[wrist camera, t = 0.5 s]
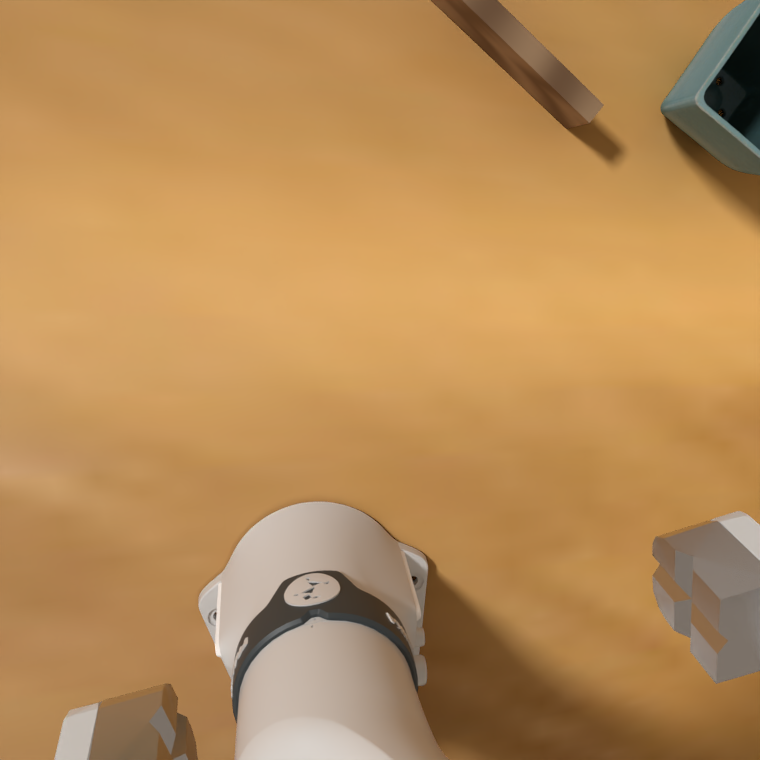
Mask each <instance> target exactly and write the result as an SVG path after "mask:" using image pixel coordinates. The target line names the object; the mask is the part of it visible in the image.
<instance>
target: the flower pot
mask: <svg viewBox="0 0 760 760" xmlns="http://www.w3.org/2000/svg"><path fill="white" fill-rule="evenodd" d="M717 78H721V80H722V82H721V84H720V85H717V84H716V79H717ZM720 109H721V110H723V112H724V114H723V116H722V117H721V116H720V115H718V111H719V110H720ZM661 112H662V114H663V115H664V116H665V117H667V118H668V119H669V120H670V121H672V122H673V123H674V124H675V125H676V126H678V127H679V128H680V129H681V130H682V131H684V132H685V133H686V134H687V135H689V136H690V137H691V138H692V139H693V140H695V141H696V142H697V143H698V144H699V145H701V146H702V147H703V148H704V149H705V150H707V151H708V152H709V153H710V154H711V155H712V156H714V157H715V158H716V159H717V160H718V161H720V162H721V163H723V164H724V165H726V166H728V167H729V168H731V169H733V170H736V171H739V172H743V173H749V174H755V175H760V0H745V1H744V2H742V3H741V4H739V5H738V6H737V7H735V8H734V9H733V10H731V11H730V12H729V13H728V14H727V15H726V16H725V17H724V18H723V19H722V20H721V21H720V22H719V23H718V24H717V26H716V27H715V28H714V29H713V31H712V32H711V33H710V35H709V36H708V37H707V39H706V40H705V42H704V43H703V45H702V46H701V48H700V49H699V51H698V52H697V54H696V55H695V57H694V58H693V60H692V61H691V63H690V64H689V65H688V67H687V68H686V70H685V71H684V73H683V74H682V76H681V77H680V78H679V80H678V81H677V83H676V84H675V86H674V87H673V89H672V90H671V91H670V93H669V94H668V96H667V97H666V98H665V100H664V101H663V103H662V105H661Z"/></svg>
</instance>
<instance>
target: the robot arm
mask: <svg viewBox="0 0 760 760" xmlns="http://www.w3.org/2000/svg"><path fill="white" fill-rule="evenodd" d="M653 556H654V558H655V559H656V560H657V561H658V562H659V563H660V565H659V566H658V568H657V569H656V571H655V573H654V574H653V591H654V594H655V597H656V600H657V603H658V607H659V608H660V610H661V612H662V614H663V616H664V617H665V619H666V620H667V622H668V623H669V624H670V626H671V627H672V628H673V630H674V631H676V632H679V633H681V634H683V635H685V636H687V637H690V638H691V645H690V652H691V653H692V654H693V655H694V657H695V658H696V659H697V660H698V662H699V663H700V664H701V665H702V667H703V668H704V669H705V670H706V672H707V673H708V674H709V675H710V677H711V678H712V679H713V681H714V682H715V683H716V684H717V683H720V682H723V681H727V680H730V679H734V678H737V677H740V676H744V675H747V674H751V673H754V672H758V671H760V525H759V524H758V523H757V522H756V521H754V520H753V519H752V518H751V517H750V516H749V515H747V514H746V513H743V512H741V511H737V512H734V513H730V514H727V515H724V516H721V517H717V518H714V519H711V520H710V521H704V522H701V523H698V524H695V525H692V526H688V527H685V528H682V529H679V530H675V531H672V532H669V533H666V534H663V535H659V536H656V537H655V539H654V542H653ZM412 576H416V579H415V580H413V581H412ZM427 577H428V563H427V559H426V557H425V555H424V554H423V553H422V552H420V551H419V550H417V549H415V548H413V547H411V546H408V545H406V544H403V543H400V542H398V541H396V540H395V539H394V538H392V537H391V536H390V535H389V534H388V533H387V532H386V531H385V530H384V529H383V527H382V526H381V525H380V524H378V523H377V522H376V521H375V520H374V519H372V518H371V517H369V516H368V515H366V514H365V513H363V512H361V511H359V510H357V509H354V508H352V507H349V506H346V505H342V504H338V503H332V502H306V503H300V504H295V505H292V506H288V507H285V508H283V509H280V510H278V511H276V512H274V513H272V514H270V515H268V516H267V517H265V518H264V519H262V520H261V521H259V522H258V523H257V524H256V525H254V526H253V527H252V528H251V529H250V530H249V531H248V532H247V533H246V534H245V535H244V537H243V538H242V539H241V541H240V542H239V543H238V545H237V547H236V548H235V550H234V552H233V554H232V556H231V558H230V560H229V562H228V564H227V566H226V568H225V569H224V570H223V572H222V573H221V574H219V575H218V576H217V577H216V578H215V579H213V580H212V581H211V582H210V583H209V584H208V585H207V586H206V587H205V588H204V589H203V590H202V591H201V593H200V595H199V610H200V612H201V615H202V617H203V619H204V621H205V623H206V626H207V628H208V630H209V632H210V634H211V637H212V639H213V641H214V643H215V651H216V655H217V656H218V657H221V658H222V661H223V663H224V665H225V667H226V669H227V672H228V674H229V676H230V678H231V697H232V703H233V713H234V716H235V720H236V723H237V731H236V745H235V760H449V759H448V758H447V757H446V756H445V754H444V753H443V752H442V750H441V749H440V748H439V746H438V744H437V742H436V740H435V738H434V736H433V734H432V731H431V729H430V727H429V724H428V722H427V719H426V717H425V714H424V712H423V709H422V707H421V704H420V701H419V698H418V695H417V691H418V686H424V685H426V682H427V666H426V660H425V657H424V656H422V655H419V652H420V646H424V644H425V633H424V629H423V628H422V624H423V614H424V605H425V595H426V586H427ZM215 612H217V615H216V614H215ZM177 706H178V697H177V695H176V694H175V692H174V690H173V688H172V686H171V684H162V685H158V686H155V687H151V688H147V689H144V690H140V691H136V692H132V693H129V694H125V695H121V696H118V697H114V698H110V699H107V700H103V701H102V702H98V703H94V704H91V705H87V706H83V707H80V708H76V709H72V710H70V711H69V713H68V714H67V716H66V717H65V719H64V721H63V725H62V729H61V733H60V737H59V742H58V746H57V750H56V755H55V759H54V760H198V757H197V749H196V741H195V738H194V734H193V731H192V728H191V725H190V723H189V721H188V719H187V717H185V716H183V715H181V714H179V713H177Z"/></svg>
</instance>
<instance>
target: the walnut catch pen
mask: <svg viewBox="0 0 760 760" xmlns="http://www.w3.org/2000/svg"><path fill="white" fill-rule="evenodd" d="M431 1H432V2H433V3H434V4H435V5H437V6H438V7H439V8H440V9H441V10H442V11H443V12H444V13H445V14H446V15H447V16H448V17H449V18H450V19H451V20H452V21H453V22H454V23H456V24H457V25H458V26H459V27H460V28H461V29H462V30H463V31H464V32H465V33H466V34H467V35H468V36H469V37H470V38H471V39H472V40H473V41H474V42H476V43H477V44H478V45H479V46H480V47H481V48H482V49H483V50H484V51H485V52H486V53H487V54H488V55H489V56H490V57H491V58H492V59H493V60H495V61H496V62H497V63H498V64H499V65H500V66H501V67H502V68H503V69H504V70H505V71H506V72H507V73H508V74H509V75H510V76H511V77H512V78H513V79H515V80H516V81H517V82H518V83H519V84H520V85H521V86H522V87H523V88H524V89H525V90H526V91H527V92H528V93H529V94H530V95H531V96H532V97H533V98H535V99H536V100H537V101H538V102H539V103H540V104H541V105H542V106H543V107H544V108H545V109H546V110H547V111H548V112H549V113H550V114H551V115H552V116H554V117H555V118H556V119H557V120H558V121H559V122H560V123H561V124H562V125H563V126H564V127H565V128H566V129H567V128H571V127H575V126H579V125H584V124H588V123H590V122H591V121H592V119H593V118H594V117H595V116H596V114H597V113H598V112H599V111H600V109H601V108H602V107H603V104H602V103H601V102H600V101H599V100H598V99H597V98H596V97H595V96H594V95H593V94H592V93H591V92H590V91H589V90H588V89H587V88H586V87H585V86H584V85H583V84H582V83H581V82H580V81H579V80H578V79H577V78H576V77H575V76H574V75H573V74H572V73H571V72H570V71H569V70H568V69H567V68H566V67H565V66H564V65H563V64H562V63H561V62H560V61H558V60H557V59H556V58H555V57H554V56H553V55H552V54H551V53H550V52H549V51H548V50H547V49H546V48H545V47H544V46H543V45H542V44H541V43H540V42H539V41H538V40H537V39H536V38H535V37H534V36H533V35H532V34H531V33H530V32H529V31H528V30H527V29H526V28H525V27H524V26H523V25H522V24H521V23H520V22H519V21H518V20H517V19H516V18H515V17H514V16H513V15H512V14H511V13H510V12H509V11H508V10H507V9H506V8H504V7H503V6H502V5H501V4H500V3H499V2H498V1H497V0H431Z"/></svg>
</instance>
